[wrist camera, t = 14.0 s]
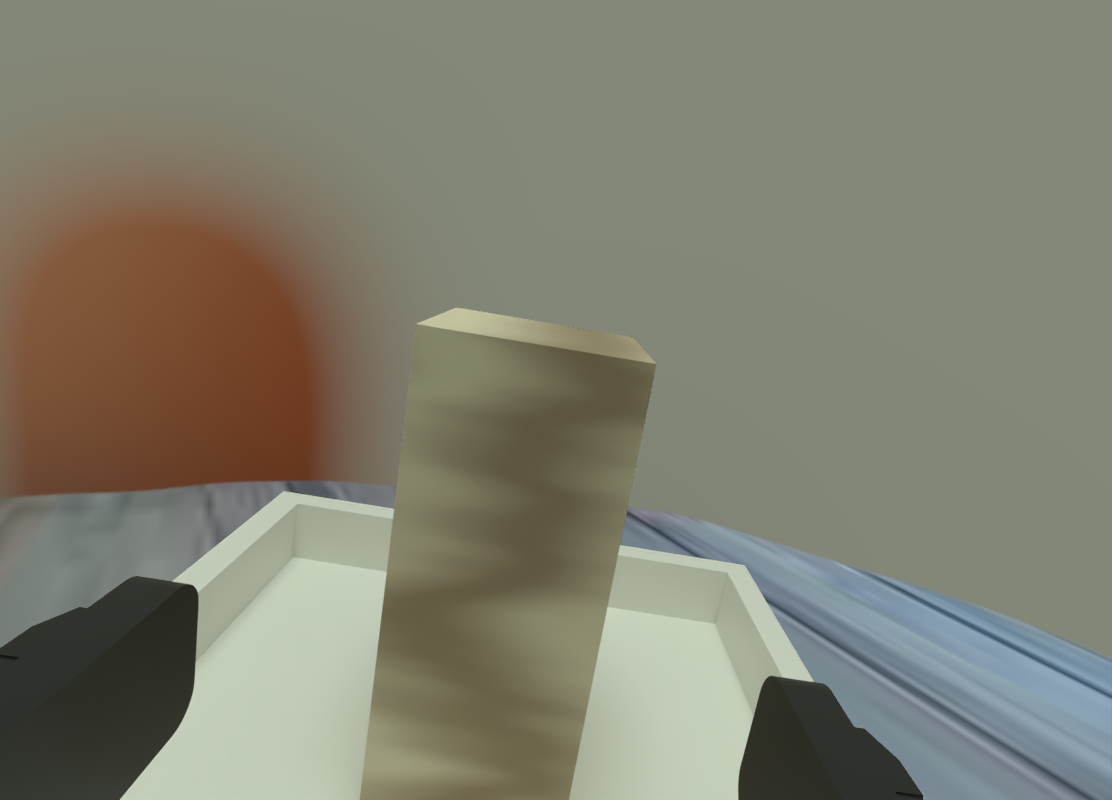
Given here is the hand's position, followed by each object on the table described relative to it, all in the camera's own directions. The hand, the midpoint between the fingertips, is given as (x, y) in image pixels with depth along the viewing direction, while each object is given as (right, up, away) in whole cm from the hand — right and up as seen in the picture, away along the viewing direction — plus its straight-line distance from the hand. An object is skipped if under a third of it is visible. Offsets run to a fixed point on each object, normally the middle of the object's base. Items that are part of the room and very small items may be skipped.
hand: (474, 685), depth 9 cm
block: (-1, -6, +9) cm, 11 cm away
